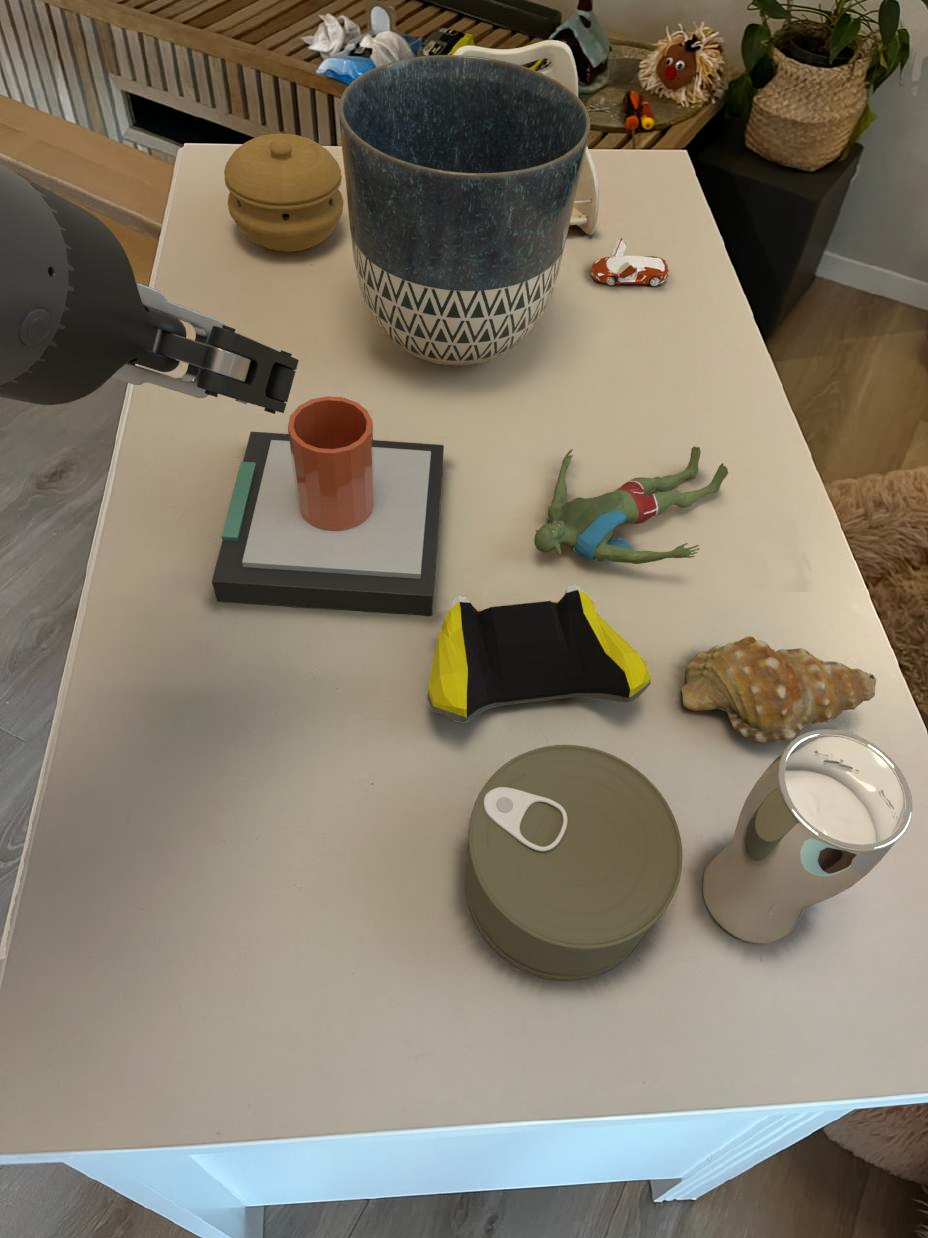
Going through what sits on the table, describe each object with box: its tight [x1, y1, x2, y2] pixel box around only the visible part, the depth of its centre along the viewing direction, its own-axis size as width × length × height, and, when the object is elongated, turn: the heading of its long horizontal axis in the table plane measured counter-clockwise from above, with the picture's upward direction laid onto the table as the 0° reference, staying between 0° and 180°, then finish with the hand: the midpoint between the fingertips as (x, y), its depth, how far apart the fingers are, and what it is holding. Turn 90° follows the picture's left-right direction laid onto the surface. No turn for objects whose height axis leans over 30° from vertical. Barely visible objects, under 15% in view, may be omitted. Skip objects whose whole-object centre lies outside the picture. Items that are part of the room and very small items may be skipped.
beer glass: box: [701, 728, 914, 945], centre depth 51 cm, size 7×7×15 cm
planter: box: [338, 54, 591, 367], centre depth 79 cm, size 20×20×21 cm
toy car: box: [590, 237, 669, 287], centre depth 95 cm, size 5×8×3 cm, turn 92°
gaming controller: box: [426, 584, 652, 723], centre depth 63 cm, size 15×6×10 cm
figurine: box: [533, 446, 729, 565], centre depth 74 cm, size 16×4×18 cm
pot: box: [223, 133, 344, 252], centre depth 93 cm, size 12×12×10 cm
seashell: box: [680, 635, 877, 743], centre depth 63 cm, size 9×8×10 cm
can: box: [464, 744, 683, 981], centre depth 54 cm, size 12×12×7 cm
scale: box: [211, 431, 445, 616], centre depth 72 cm, size 16×16×3 cm
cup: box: [287, 395, 374, 531], centre depth 67 cm, size 6×6×8 cm
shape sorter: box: [452, 39, 600, 235], centre depth 94 cm, size 20×10×18 cm, turn 104°
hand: (205, 360), depth 46 cm, fingers open, 8 cm apart
